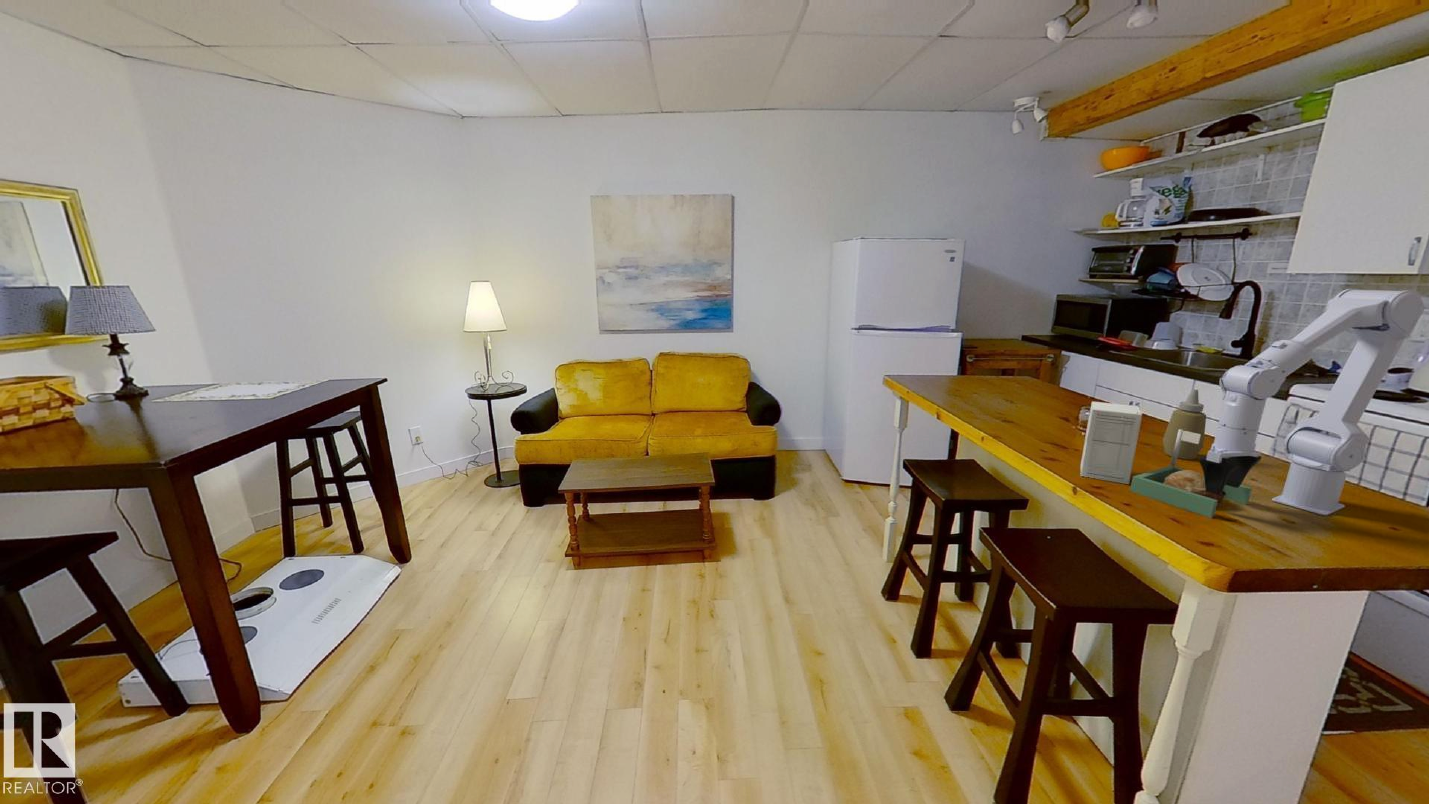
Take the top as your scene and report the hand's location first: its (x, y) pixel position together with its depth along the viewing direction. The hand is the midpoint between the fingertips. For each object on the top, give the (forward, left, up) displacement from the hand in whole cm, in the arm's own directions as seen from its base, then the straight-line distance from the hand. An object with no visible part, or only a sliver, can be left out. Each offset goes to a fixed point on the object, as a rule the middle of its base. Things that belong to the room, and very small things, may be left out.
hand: (1222, 489), depth 106 cm
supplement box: (+3, -21, -4) cm, 21 cm away
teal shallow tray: (0, -5, -4) cm, 6 cm away
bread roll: (0, -5, -4) cm, 6 cm away
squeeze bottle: (-29, -20, -4) cm, 36 cm away
